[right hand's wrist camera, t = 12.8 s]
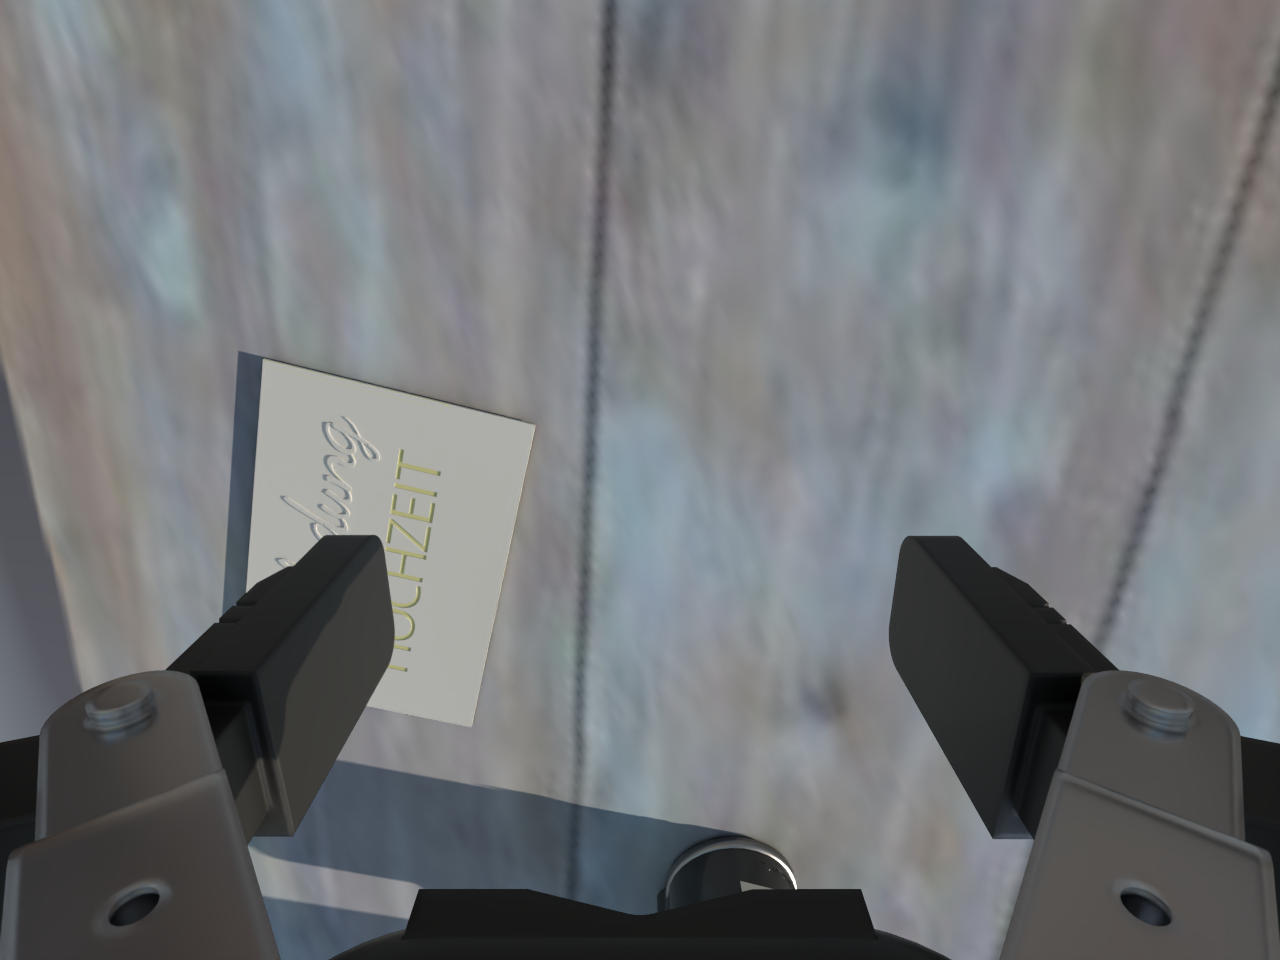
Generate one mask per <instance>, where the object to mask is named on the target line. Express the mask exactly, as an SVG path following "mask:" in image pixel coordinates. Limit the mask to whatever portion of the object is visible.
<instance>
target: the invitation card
mask: <svg viewBox="0 0 1280 960" xmlns="http://www.w3.org/2000/svg"><path fill="white" fill-rule="evenodd" d="M535 425H536V424H532V423H528V422H524V421H520V420H516V419H512V418H508V417H504V416H500V415H495V414H491V413H487V412H483V411H479V410H475V409H471V408H467V407H463V406H458V405H454V404H450V403H446V402H442V401H438V400H434V399H430V398H426V397H422V396H417V395H413V394H409V393H405V392H401V391H397V390H393V389H389V388H385V387H380V386H376V385H372V384H368V383H364V382H360V381H356V380H352V379H348V378H344V377H339V376H335V375H331V374H327V373H323V372H319V371H315V370H311V369H307V368H302V367H298V366H294V365H290V364H286V363H282V362H278V361H274V360H270V359H266V358H264V359H263V366H262V380H261V394H260V408H259V421H258V435H257V449H256V462H255V476H254V490H253V503H252V517H251V531H250V544H249V558H248V572H247V585H246V593H247V592H248V591H249V590H250V589H251V588H252V587H253V586H254V585H255V584H256V583H257V582H259V581H261V580H263V579H265V578H267V577H269V576H271V575H272V574H274V573H276V572H278V571H280V570H282V569H284V568H286V567H288V566H294V565H295V564H296V563H297V562H298V561H299V560H300V559H301V558H302V557H303V556H304V555H305V554H306V553H307V552H308V551H309V550H310V549H311V548H312V547H313V546H314V545H315V544H316V543H317V542H318V541H319V540H320V539H321V538H322V537H323V536H325V535H377V536H378V537H379V538H380V540H381V542H382V544H383V547H384V552H385V559H386V566H387V574H388V581H389V588H390V596H391V603H392V610H393V617H394V626H395V640H394V648H393V654H392V657H391V661H390V663H389V666H388V668H387V669H386V671H385V673H384V675H383V677H382V678H381V680H380V682H379V684H378V685H377V687H376V689H375V691H374V693H373V694H372V696H371V698H370V700H369V701H368V703H367V705H366V706H369V707H374V708H379V709H384V710H389V711H394V712H399V713H404V714H408V715H413V716H418V717H423V718H428V719H433V720H438V721H443V722H447V723H452V724H457V725H462V726H467V727H471V726H472V722H473V717H474V713H475V708H476V703H477V699H478V694H479V689H480V684H481V680H482V675H483V670H484V666H485V661H486V656H487V651H488V647H489V642H490V637H491V633H492V628H493V623H494V618H495V614H496V609H497V604H498V600H499V595H500V590H501V586H502V581H503V576H504V571H505V567H506V562H507V557H508V553H509V548H510V543H511V538H512V534H513V529H514V524H515V520H516V515H517V510H518V505H519V501H520V496H521V491H522V487H523V482H524V477H525V473H526V468H527V463H528V458H529V454H530V449H531V444H532V440H533V435H534V430H535Z"/></svg>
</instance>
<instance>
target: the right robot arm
mask: <svg viewBox="0 0 1280 960" xmlns="http://www.w3.org/2000/svg"><path fill="white" fill-rule="evenodd" d="M236 603H237V605H236V606H232V607H231V608H230V609H229V610H228V611H227V612H226V613H225V614H224V615H223V616H222V617H220V618H219V623H214V624H213V625H212V626H211V627H210V628H209V629H208V630H207V631H206V632H205V633H204V634H203V635H202V636H201V637H199V638H198V639H197V640H196V641H195V642H194V643H193V644H192V645H191V646H190V647H189V648H188V649H187V650H186V651H185V652H184V653H183V654H182V655H181V656H180V657H178V658H177V659H176V660H175V661H174V662H173V663H172V664H171V665H170V666H169V667H168V668H167V669H166V670H162V671H149V672H142V673H137V674H132V675H128V676H124V677H120V678H117V679H114V680H111V681H108V682H106V683H103V684H101V685H98V686H96V687H93V688H91V689H89V690H87V691H85V692H83V693H81V694H80V695H78V696H76V697H75V698H73V699H71V700H70V701H68V702H67V703H66V704H64V705H63V706H61V707H60V708H59V709H58V710H57V711H55V712H54V713H53V714H52V715H51V716H50V717H49V719H48V720H47V721H46V722H45V724H44V725H43V727H42V729H41V732H40V735H38V736H32V737H28V738H22V739H17V740H12V741H6V742H2V743H0V960H281V959H280V955H279V952H278V949H277V945H276V942H275V938H274V935H273V932H272V928H271V925H270V921H269V918H268V915H267V911H266V908H265V904H264V901H263V898H262V894H261V891H260V887H259V884H258V880H257V877H256V874H255V870H254V867H253V863H252V860H251V857H250V853H249V850H248V846H247V845H248V844H249V842H250V840H251V839H252V837H253V836H293V835H294V833H295V832H296V830H297V828H298V826H299V824H300V823H301V821H302V819H303V817H304V815H305V814H306V812H307V810H308V808H309V807H310V805H311V803H312V801H313V799H314V798H315V796H316V794H317V792H318V791H319V789H320V787H321V785H322V783H323V782H324V780H325V778H326V776H327V775H328V773H329V771H330V769H331V767H332V766H333V764H334V762H335V760H336V758H337V757H338V755H339V753H340V751H341V750H342V748H343V746H344V744H345V742H346V741H347V739H348V737H349V735H350V734H351V732H352V730H353V728H354V726H355V725H356V723H357V721H358V719H359V718H360V716H361V714H362V712H363V710H364V709H365V707H366V705H367V703H368V701H369V700H370V698H371V696H372V694H373V693H374V691H375V689H376V687H377V685H378V684H379V682H380V680H381V678H382V677H383V675H384V673H385V671H386V669H387V668H388V666H389V663H390V661H391V657H392V654H393V648H394V640H395V626H394V617H393V610H392V603H391V596H390V588H389V581H388V574H387V566H386V559H385V552H384V547H383V544H382V542H381V540H380V538H379V537H378V536H377V535H325V536H323V537H322V538H321V539H320V540H319V541H318V542H317V543H316V544H315V545H314V546H313V547H312V548H311V549H310V550H309V551H308V552H307V553H306V554H305V555H304V556H303V557H302V558H301V559H300V560H299V561H298V562H297V563H296V564H295V565H294V566H288V567H286V568H284V569H282V570H280V571H278V572H276V573H274V574H272V575H271V576H269V577H267V578H265V579H263V580H261V581H259V582H257V583H256V584H255V585H254V586H253V587H252V588H251V589H250V590H249V591H248V592H247V593H246V594H245V595H244V596H243V597H241V598H240V599H239V600H238V601H237V602H236ZM889 644H890V651H891V656H892V659H893V662H894V665H895V667H896V669H897V671H898V673H899V675H900V676H901V678H902V680H903V682H904V683H905V685H906V687H907V689H908V690H909V692H910V694H911V696H912V697H913V699H914V701H915V703H916V704H917V706H918V708H919V710H920V711H921V713H922V715H923V717H924V718H925V720H926V722H927V724H928V726H929V727H930V729H931V731H932V733H933V734H934V736H935V738H936V740H937V741H938V743H939V745H940V747H941V748H942V750H943V752H944V754H945V755H946V757H947V759H948V761H949V762H950V764H951V766H952V768H953V770H954V771H955V773H956V775H957V777H958V778H959V780H960V782H961V784H962V785H963V787H964V789H965V791H966V792H967V794H968V796H969V798H970V799H971V801H972V803H973V805H974V806H975V808H976V810H977V812H978V814H979V815H980V817H981V819H982V821H983V822H984V824H985V826H986V828H987V829H988V831H989V833H990V835H991V836H992V838H993V839H1034V843H1033V846H1032V850H1031V853H1030V857H1029V860H1028V863H1027V867H1026V870H1025V874H1024V877H1023V880H1022V884H1021V887H1020V891H1019V894H1018V898H1017V901H1016V904H1015V908H1014V911H1013V915H1012V918H1011V921H1010V925H1009V928H1008V932H1007V935H1006V938H1005V942H1004V945H1003V949H1002V952H1001V955H1000V959H999V960H1280V744H1279V743H1273V742H1268V741H1263V740H1258V739H1253V738H1248V737H1243V736H1240V732H1239V729H1238V727H1237V725H1236V724H1235V722H1234V721H1233V720H1232V719H1231V717H1230V716H1229V715H1228V714H1227V713H1226V712H1225V711H1223V710H1222V709H1221V708H1220V707H1219V706H1217V705H1216V704H1215V703H1213V702H1212V701H1210V700H1209V699H1207V698H1205V697H1204V696H1202V695H1200V694H1199V693H1197V692H1195V691H1193V690H1191V689H1189V688H1187V687H1184V686H1182V685H1179V684H1177V683H1174V682H1172V681H1169V680H1166V679H1163V678H1160V677H1156V676H1152V675H1148V674H1143V673H1138V672H1131V671H1120V670H1118V669H1117V668H1116V667H1115V666H1114V665H1113V664H1112V663H1111V662H1110V661H1109V660H1108V659H1107V658H1106V657H1105V656H1104V655H1103V654H1101V653H1100V652H1099V651H1098V650H1097V649H1096V648H1095V647H1094V646H1093V645H1092V644H1091V643H1090V642H1089V641H1088V640H1087V639H1086V638H1085V637H1083V636H1082V635H1081V634H1080V633H1079V632H1078V631H1077V630H1076V629H1075V628H1074V627H1073V626H1072V625H1071V624H1066V620H1065V619H1064V618H1063V617H1062V616H1061V615H1060V614H1059V613H1058V612H1057V611H1056V610H1055V609H1054V608H1049V603H1047V602H1046V601H1045V600H1044V599H1043V598H1042V597H1041V596H1040V595H1039V594H1038V593H1037V592H1036V591H1035V590H1034V589H1033V588H1032V587H1031V586H1029V585H1028V584H1027V583H1025V582H1023V581H1021V580H1019V579H1017V578H1016V577H1014V576H1012V575H1010V574H1008V573H1006V572H1004V571H1002V570H1000V569H999V568H997V567H991V566H989V565H988V564H987V563H986V562H985V561H984V560H983V559H982V558H981V557H980V556H979V555H978V554H977V553H976V552H975V551H974V550H973V549H972V548H971V547H970V546H969V545H968V544H967V543H966V542H965V541H964V540H963V539H962V538H961V537H959V536H908V537H906V538H905V539H904V541H903V543H902V545H901V548H900V553H899V560H898V567H897V574H896V581H895V588H894V596H893V603H892V610H891V617H890V625H889ZM657 909H658V913H654V914H648V915H632V914H626V913H622V912H618V911H614V910H610V909H606V908H602V907H598V906H594V905H590V904H586V903H582V902H578V901H573V900H569V899H565V898H561V897H557V896H553V895H549V894H545V893H541V892H537V891H533V890H529V889H419V891H418V894H417V897H416V900H415V903H414V906H413V909H412V912H411V915H410V918H409V921H408V924H407V927H406V929H404V930H401V931H397V932H393V933H390V934H387V935H384V936H381V937H378V938H376V939H373V940H370V941H367V942H364V943H362V944H360V945H358V946H356V947H353V948H351V949H349V950H347V951H345V952H343V953H341V954H338V955H336V956H335V957H333V958H331V959H329V960H951V959H949V958H947V957H945V956H944V955H942V954H939V953H937V952H935V951H933V950H931V949H929V948H927V947H924V946H922V945H920V944H918V943H916V942H913V941H910V940H907V939H904V938H902V937H899V936H896V935H893V934H890V933H887V932H883V931H880V930H876V929H874V927H873V924H872V921H871V918H870V915H869V912H868V909H867V906H866V903H865V900H864V897H863V894H862V891H861V889H797V887H796V883H795V878H794V874H793V871H792V868H791V866H790V864H789V863H788V861H787V860H786V859H785V857H784V856H783V855H782V854H781V853H779V852H778V851H777V850H776V849H774V848H772V847H771V846H769V845H767V844H765V843H762V842H760V841H757V840H753V839H748V838H741V837H725V838H717V839H713V840H709V841H706V842H703V843H700V844H698V845H696V846H694V847H692V848H690V849H689V850H687V851H686V852H685V853H683V854H682V855H681V856H680V857H679V858H678V859H677V860H676V861H675V863H674V864H673V865H672V867H671V869H670V871H669V873H668V876H667V880H666V888H665V889H664V890H663V891H662V892H661V893H659V894H658V895H657Z"/></svg>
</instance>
